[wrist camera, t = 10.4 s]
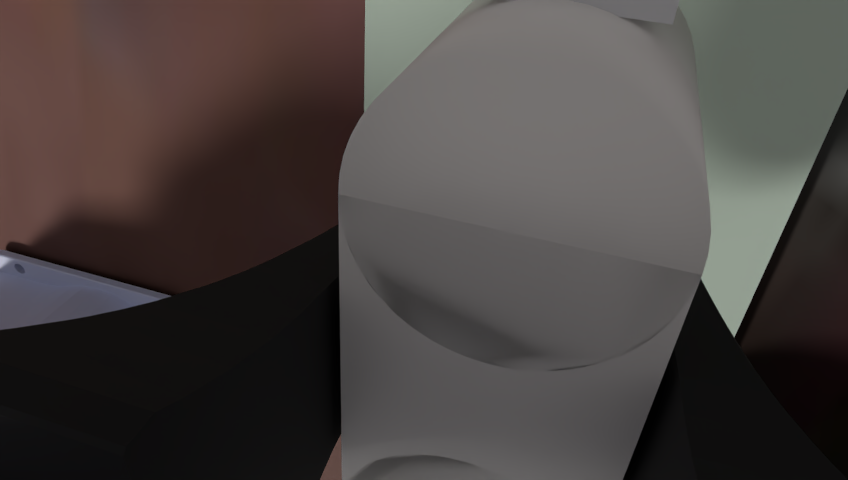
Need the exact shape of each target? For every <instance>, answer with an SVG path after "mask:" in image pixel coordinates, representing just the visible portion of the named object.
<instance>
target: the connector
mask: <svg viewBox="0 0 848 480" xmlns="http://www.w3.org/2000/svg"><path fill="white" fill-rule="evenodd" d="M678 4H679V0H474V1H473V2H472V3H471V4H470V5H469V6H468V7H467V8H466V9H465V10H464V11H463V12H462V13H461V14H460V15H459V16H458V17H457V18H456V19H455V20H454V21H453V22H452V23H451V24H450V25H449V26H448V27H447V28H446V29H445V30H444V31H443V32H442V33H441V34H440V35H439V36H438V37H437V38H436V39H435V40H434V41H433V42H432V43H431V44H430V45H429V46H428V47H427V48H426V49H425V50H424V51H423V52H422V53H421V54H420V55H419V56H418V57H417V58H416V59H415V60H414V61H413V62H412V63H411V64H410V65H409V66H408V67H407V68H406V69H405V70H404V71H403V72H402V73H401V74H400V75H399V76H398V77H397V78H396V79H395V80H394V81H393V82H392V83H391V84H390V85H389V86H388V87H387V88H386V89H385V90H384V91H383V92H382V93H381V94H380V95H379V96H378V97H377V98H376V99H375V100H374V101H373V102H372V104H371V105H370V106H369V107H368V109H367V110H366V111H365V113H364V114H363V115H362V116H361V118H360V119H359V121H358V123H357V125H356V127H355V128H354V130H353V132H352V134H351V136H350V138H349V141H348V144H347V146H346V149H345V152H344V154H343V159H342V164H341V168H340V173H339V188H338V221H339V295H340V368H341V442H342V480H623V478H624V475H625V473H626V470H627V468H628V465H629V462H630V460H631V457H632V455H633V452H634V450H635V447H636V444H637V442H638V439H639V437H640V434H641V432H642V429H643V426H644V424H645V421H646V419H647V416H648V413H649V411H650V408H651V406H652V403H653V401H654V398H655V395H656V393H657V390H658V388H659V385H660V383H661V380H662V377H663V375H664V372H665V370H666V367H667V364H668V362H669V359H670V357H671V354H672V352H673V349H674V346H675V344H676V341H677V339H678V336H679V334H680V331H681V328H682V326H683V323H684V321H685V318H686V316H687V313H688V310H689V308H690V305H691V303H692V300H693V297H694V295H695V292H696V290H697V287H698V285H699V282H700V279H701V277H702V274H703V271H704V267H705V264H706V260H707V257H708V253H709V245H710V237H711V217H710V202H709V192H708V182H707V172H706V162H705V151H704V141H703V131H702V121H701V111H700V101H699V91H698V80H697V70H696V60H695V50H694V45H693V40H692V35H691V32H690V30H689V27H688V24H687V21H686V19H685V17H684V15H683V13H682V11H681V9H680V8H679V6H678Z"/></svg>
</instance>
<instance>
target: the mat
mask: <svg viewBox="0 0 848 480" xmlns="http://www.w3.org/2000/svg"><path fill="white" fill-rule="evenodd" d="M473 1H474V0H365V75H364V113H365V111H366V110H367V109H368V107H369V106H370V105H371V104H372V102H373V101H374V100H375V99H376V98H377V97H378V96H379V95H380V94H381V93H382V92H383V91H384V90H385V89H386V88H387V87H388V86H389V85H390V84H391V83H392V82H393V81H394V80H395V79H396V78H397V77H398V76H399V75H400V74H401V73H402V72H403V71H404V70H405V69H406V68H407V67H408V66H409V65H410V64H411V63H412V62H413V61H414V60H415V59H416V58H417V57H418V56H419V55H420V54H421V53H422V52H423V51H424V50H425V49H426V48H427V47H428V46H429V45H430V44H431V43H432V42H433V41H434V40H435V39H436V38H437V37H438V36H439V35H440V34H441V33H442V32H443V31H444V30H445V29H446V28H447V27H448V26H449V25H450V24H451V23H452V22H453V21H454V20H455V19H456V18H457V17H458V16H459V15H460V14H461V13H462V12H463V11H464V10H465V9H466V8H467V7H468V6H469V5H470V4H471V3H472V2H473ZM678 6H679V8H680V9H681V11H682V13H683V15H684V17H685V19H686V21H687V24H688V27H689V30H690V32H691V35H692V40H693V45H694V50H695V60H696V70H697V80H698V91H699V101H700V111H701V121H702V131H703V141H704V151H705V162H706V172H707V182H708V192H709V202H710V217H711V237H710V245H709V253H708V257H707V260H706V264H705V267H704V271H703V274H702V277H701V280H702V281H703V283H704V285H705V287H706V289H707V291H708V293H709V295H710V297H711V298H712V300H713V302H714V304H715V306H716V307H717V309H718V311H719V313H720V314H721V316H722V318H723V320H724V321H725V323H726V325H727V326H728V328H729V330H730V331H731V333H732V335H733V336H734V337H735V335H736V333H737V330H738V328H739V326H740V324H741V322H742V320H743V317H744V315H745V313H746V311H747V309H748V306H749V304H750V302H751V300H752V298H753V295H754V293H755V291H756V289H757V287H758V284H759V282H760V280H761V278H762V276H763V273H764V271H765V269H766V267H767V265H768V262H769V260H770V258H771V256H772V254H773V251H774V249H775V247H776V245H777V243H778V240H779V238H780V236H781V234H782V232H783V229H784V227H785V225H786V223H787V221H788V218H789V216H790V214H791V212H792V210H793V207H794V205H795V203H796V201H797V199H798V196H799V194H800V192H801V190H802V188H803V185H804V183H805V181H806V179H807V177H808V174H809V172H810V170H811V168H812V166H813V163H814V161H815V159H816V157H817V155H818V153H819V150H820V148H821V146H822V144H823V142H824V139H825V137H826V135H827V133H828V131H829V128H830V126H831V124H832V122H833V120H834V117H835V115H836V113H837V111H838V109H839V106H840V104H841V102H842V100H843V98H844V95H845V93H846V91H847V89H848V0H679V4H678Z"/></svg>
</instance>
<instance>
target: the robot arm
mask: <svg viewBox="0 0 848 480" xmlns="http://www.w3.org/2000/svg"><path fill="white" fill-rule="evenodd" d="M340 435H341V368H340V295H339V224H338V225H337V226H335V227H333V228H331V229H329V230H328V231H326V232H324V233H322V234H321V235H319V236H317V237H315V238H313V239H311V240H309V241H307V242H305V243H303V244H301V245H299V246H297V247H295V248H293V249H291V250H289V251H287V252H285V253H283V254H281V255H279V256H277V257H275V258H273V259H271V260H269V261H267V262H265V263H263V264H260V265H258V266H256V267H253V268H251V269H249V270H246V271H244V272H241V273H239V274H236V275H233V276H231V277H228V278H226V279H223V280H220V281H218V282H215V283H212V284H209V285H206V286H203V287H200V288H196V289H193V290H190V291H187V292H183V293H180V294H177V295H173V296H170V295H166V294H163V293H159V292H155V291H152V290H148V289H144V288H141V287H137V286H133V285H130V284H126V283H122V282H119V281H115V280H112V279H108V278H104V277H101V276H97V275H93V274H90V273H86V272H82V271H79V270H75V269H72V268H68V267H64V266H61V265H57V264H53V263H50V262H46V261H42V260H39V259H35V258H31V257H28V256H24V255H21V254H17V253H13V252H10V251H6V250H0V480H320V478H321V475H322V473H323V471H324V469H325V466H326V464H327V462H328V460H329V457H330V455H331V453H332V450H333V448H334V446H335V444H336V442H337V440H338V439H339V437H340ZM623 480H848V479H847V478H846V477H845V476H844V475H843V474H842V473H841V472H840V471H839V470H838V469H837V468H836V467H835V466H834V465H833V464H832V463H831V462H830V461H829V459H828V458H827V457H826V456H825V455H824V454H823V453H822V452H821V451H820V450H819V449H818V448H817V446H816V445H815V444H814V443H813V442H812V441H811V440H810V438H809V437H808V436H807V435H806V434H805V433H804V431H803V430H802V429H801V428H800V427H799V426H798V424H797V423H796V422H795V421H794V420H793V419H792V417H791V416H790V415H789V414H788V413H787V411H786V410H785V409H784V408H783V407H782V405H781V404H780V403H779V401H778V400H777V399H776V398H775V396H774V395H773V394H772V392H771V391H770V390H769V388H768V387H767V386H766V384H765V383H764V381H763V380H762V379H761V377H760V376H759V374H758V373H757V372H756V370H755V369H754V367H753V366H752V364H751V363H750V361H749V360H748V358H747V357H746V355H745V354H744V352H743V351H742V349H741V347H740V346H739V344H738V343H737V341H736V339H735V338H734V336H733V335H732V333H731V331H730V330H729V328H728V326H727V325H726V323H725V321H724V320H723V318H722V316H721V314H720V313H719V311H718V309H717V307H716V306H715V304H714V302H713V300H712V298H711V297H710V295H709V293H708V291H707V289H706V287H705V285H704V283H703V281H702V280H701V279H700V282H699V285H698V287H697V290H696V292H695V295H694V297H693V300H692V303H691V305H690V308H689V310H688V313H687V316H686V318H685V321H684V323H683V326H682V328H681V331H680V334H679V336H678V339H677V341H676V344H675V346H674V349H673V352H672V354H671V357H670V359H669V362H668V364H667V367H666V370H665V372H664V375H663V377H662V380H661V383H660V385H659V388H658V390H657V393H656V395H655V398H654V401H653V403H652V406H651V408H650V411H649V413H648V416H647V419H646V421H645V424H644V426H643V429H642V432H641V434H640V437H639V439H638V442H637V444H636V447H635V450H634V452H633V455H632V457H631V460H630V462H629V465H628V468H627V470H626V473H625V475H624V478H623Z"/></svg>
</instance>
